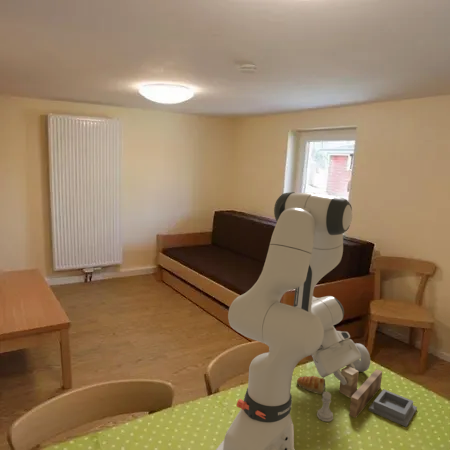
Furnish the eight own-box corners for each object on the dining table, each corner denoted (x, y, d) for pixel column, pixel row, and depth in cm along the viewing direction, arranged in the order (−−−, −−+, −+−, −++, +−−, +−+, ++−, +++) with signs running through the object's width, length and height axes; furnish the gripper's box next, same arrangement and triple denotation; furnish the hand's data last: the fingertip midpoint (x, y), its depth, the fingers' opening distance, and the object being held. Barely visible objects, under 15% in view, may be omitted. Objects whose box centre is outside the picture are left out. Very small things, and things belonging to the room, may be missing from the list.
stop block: (349, 397, 122) (352, 374, 121) (339, 391, 125) (341, 369, 124) (356, 393, 125) (358, 371, 123) (345, 387, 128) (348, 365, 126)
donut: (370, 376, 135) (373, 350, 134) (362, 377, 134) (365, 351, 133) (354, 362, 145) (356, 338, 143) (346, 363, 144) (348, 339, 142)
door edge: (355, 418, 112) (357, 399, 111) (349, 414, 113) (351, 396, 112) (380, 387, 129) (382, 371, 128) (374, 385, 130) (376, 369, 129)
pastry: (295, 389, 126) (296, 378, 125) (298, 379, 132) (299, 369, 132) (324, 395, 123) (325, 385, 122) (325, 385, 129) (326, 374, 129)
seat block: (406, 427, 109) (407, 417, 109) (368, 410, 116) (369, 401, 116) (416, 409, 117) (417, 400, 117) (380, 395, 124) (381, 386, 124)
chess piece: (335, 421, 110) (338, 396, 109) (320, 422, 109) (322, 397, 108) (329, 411, 115) (331, 387, 113) (314, 412, 114) (316, 387, 113)
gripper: (315, 346, 121) (338, 388, 115) (350, 331, 134) (373, 368, 128) (303, 353, 125) (325, 395, 119) (338, 338, 138) (360, 374, 132)
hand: (350, 381), depth 124 cm, fingers closed on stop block, 4 cm apart
